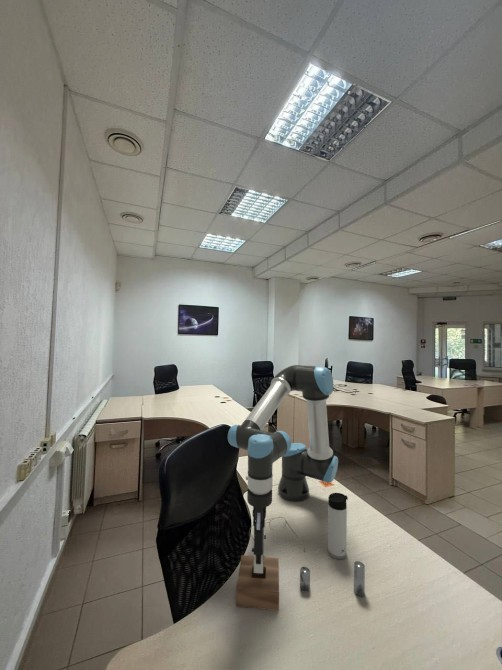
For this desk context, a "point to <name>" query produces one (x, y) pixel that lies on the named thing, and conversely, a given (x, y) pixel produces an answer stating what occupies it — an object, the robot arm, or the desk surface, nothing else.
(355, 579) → the medium pin
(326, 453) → the robot arm
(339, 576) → the desk surface
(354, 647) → the desk surface
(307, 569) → the short pin
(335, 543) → the travel mug
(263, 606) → the collar block
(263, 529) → the long pin
